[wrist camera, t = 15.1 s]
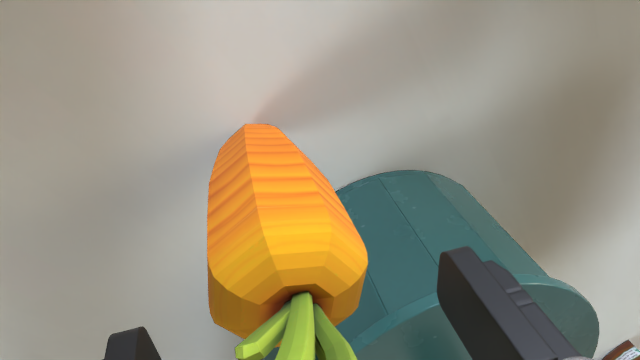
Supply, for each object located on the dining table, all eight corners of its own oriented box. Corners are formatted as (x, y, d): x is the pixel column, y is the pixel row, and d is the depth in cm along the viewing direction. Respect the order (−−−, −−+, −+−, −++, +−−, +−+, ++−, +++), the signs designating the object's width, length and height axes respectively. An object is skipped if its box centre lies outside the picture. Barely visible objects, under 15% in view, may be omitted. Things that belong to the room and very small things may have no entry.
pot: (289, 127, 21) (339, 244, 14) (547, 207, 29) (665, 309, 22) (205, 319, 27) (210, 474, 20) (440, 343, 35) (505, 459, 28)
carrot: (312, 153, 22) (455, 454, 10) (223, 187, 22) (258, 536, 10) (283, 66, 20) (431, 337, 7) (180, 103, 19) (154, 449, 7)
